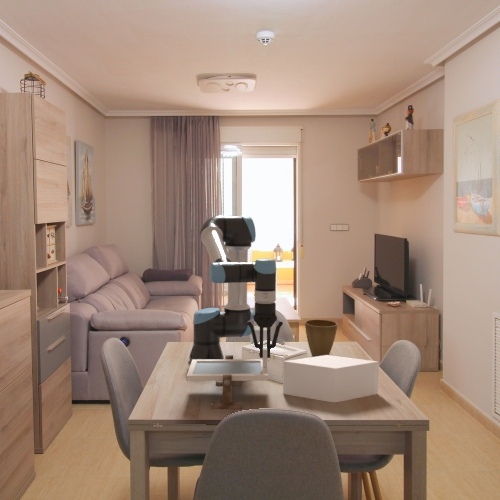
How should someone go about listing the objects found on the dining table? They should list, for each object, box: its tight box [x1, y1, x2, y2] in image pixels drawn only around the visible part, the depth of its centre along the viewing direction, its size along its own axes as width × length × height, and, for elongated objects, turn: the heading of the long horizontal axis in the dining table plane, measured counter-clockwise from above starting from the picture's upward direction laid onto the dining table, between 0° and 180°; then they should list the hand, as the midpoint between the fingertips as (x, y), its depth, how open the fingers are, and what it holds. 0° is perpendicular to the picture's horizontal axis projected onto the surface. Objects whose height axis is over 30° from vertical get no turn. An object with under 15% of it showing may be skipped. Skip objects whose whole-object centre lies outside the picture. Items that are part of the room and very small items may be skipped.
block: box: [282, 354, 379, 403], centre depth 193 cm, size 18×35×12 cm, turn 92°
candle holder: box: [249, 325, 267, 345], centre depth 248 cm, size 10×10×12 cm
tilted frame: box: [186, 358, 269, 382], centre depth 190 cm, size 28×21×2 cm
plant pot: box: [304, 319, 339, 357], centre depth 242 cm, size 15×15×16 cm
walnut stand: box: [211, 354, 243, 410], centre depth 190 cm, size 10×27×11 cm, turn 1°
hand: (264, 366), depth 190 cm, fingers closed
